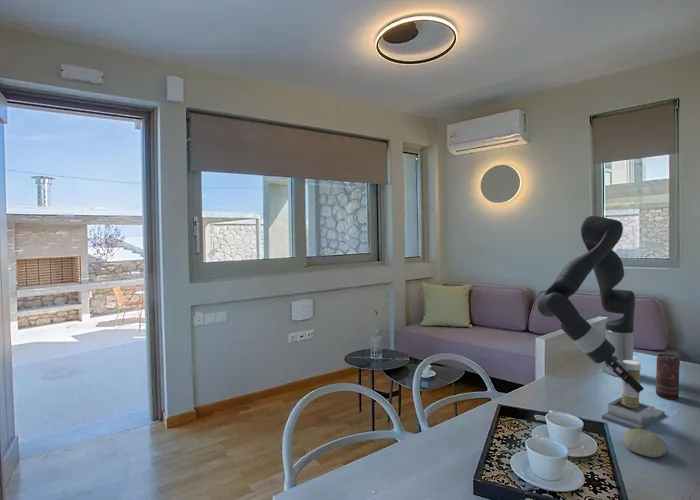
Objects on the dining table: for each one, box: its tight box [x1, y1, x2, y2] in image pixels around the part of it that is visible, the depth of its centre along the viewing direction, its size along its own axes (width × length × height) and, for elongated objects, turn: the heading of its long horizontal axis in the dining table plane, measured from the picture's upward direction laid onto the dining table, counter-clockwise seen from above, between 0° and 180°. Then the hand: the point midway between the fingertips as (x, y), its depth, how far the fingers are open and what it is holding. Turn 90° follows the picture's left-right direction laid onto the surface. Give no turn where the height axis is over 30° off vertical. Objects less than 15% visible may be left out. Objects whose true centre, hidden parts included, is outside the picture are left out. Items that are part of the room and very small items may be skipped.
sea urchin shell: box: [622, 428, 668, 458], centre depth 109 cm, size 9×8×8 cm
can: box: [655, 353, 681, 401], centre depth 142 cm, size 6×6×14 cm
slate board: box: [601, 407, 666, 430], centre depth 128 cm, size 10×18×1 cm, turn 124°
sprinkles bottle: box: [621, 360, 642, 408], centre depth 126 cm, size 5×5×14 cm
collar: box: [607, 396, 655, 425], centre depth 126 cm, size 9×9×3 cm
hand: (638, 387), depth 125 cm, fingers closed on sprinkles bottle, 4 cm apart
